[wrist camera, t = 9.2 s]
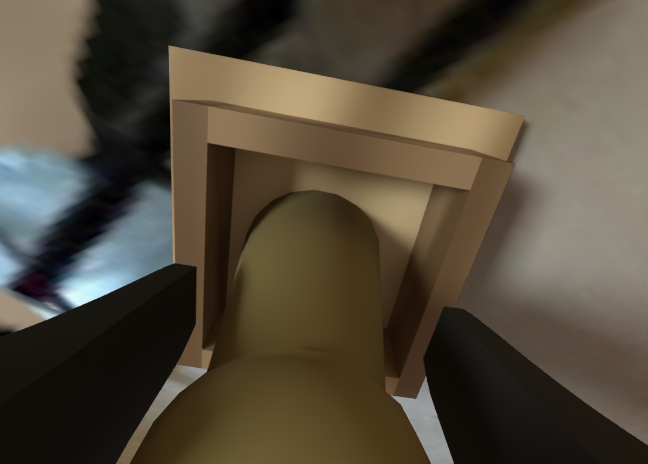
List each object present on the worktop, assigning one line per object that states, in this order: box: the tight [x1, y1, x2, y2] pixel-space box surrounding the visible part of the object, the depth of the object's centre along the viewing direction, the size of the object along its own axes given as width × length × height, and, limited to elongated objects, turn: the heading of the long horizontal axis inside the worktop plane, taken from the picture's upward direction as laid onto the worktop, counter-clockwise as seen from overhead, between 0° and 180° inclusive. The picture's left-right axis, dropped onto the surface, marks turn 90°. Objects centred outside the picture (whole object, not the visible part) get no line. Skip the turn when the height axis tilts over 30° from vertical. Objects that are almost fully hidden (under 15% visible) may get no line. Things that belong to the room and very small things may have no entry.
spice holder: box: [169, 46, 525, 399], centre depth 12 cm, size 13×13×4 cm
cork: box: [130, 190, 431, 464], centre depth 9 cm, size 6×6×11 cm
